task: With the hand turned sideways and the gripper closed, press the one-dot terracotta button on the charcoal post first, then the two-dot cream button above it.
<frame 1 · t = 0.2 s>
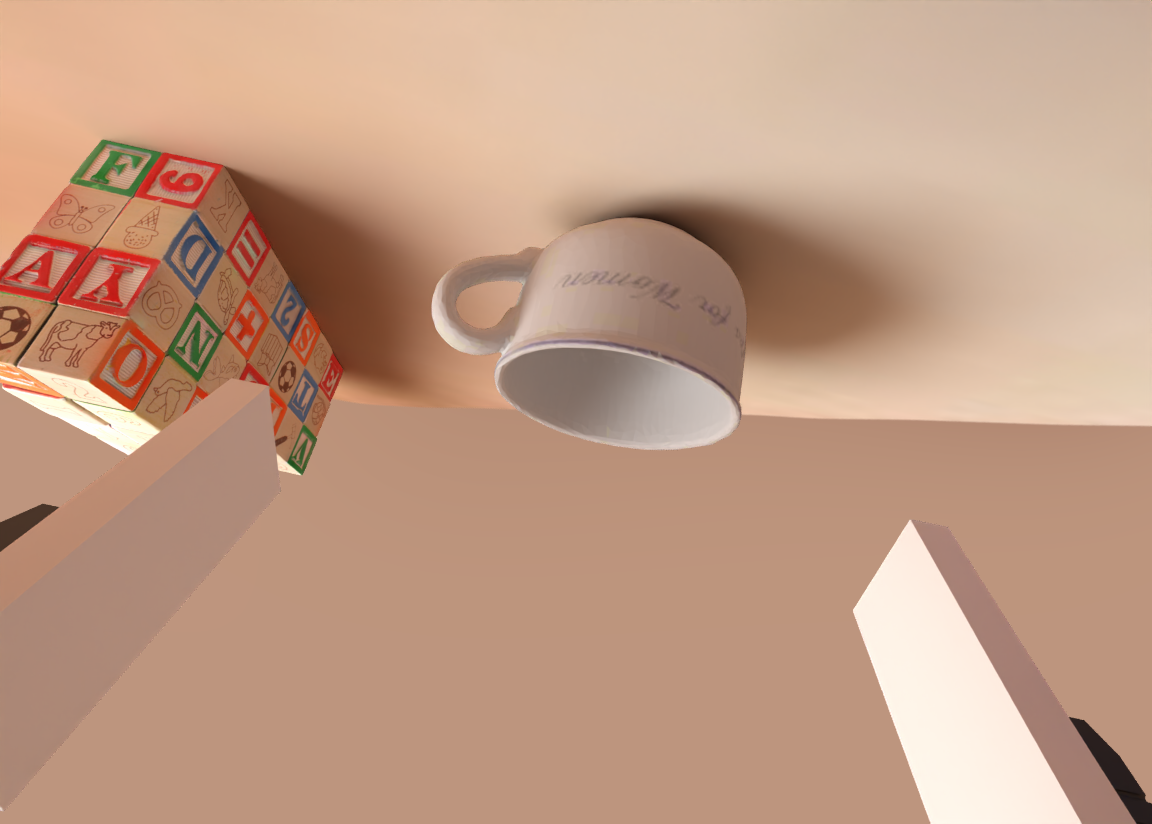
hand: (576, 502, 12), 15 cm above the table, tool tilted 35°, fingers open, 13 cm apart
teacup: (615, 246, 28), on the table
stack of blocks: (255, 279, 38), on the table
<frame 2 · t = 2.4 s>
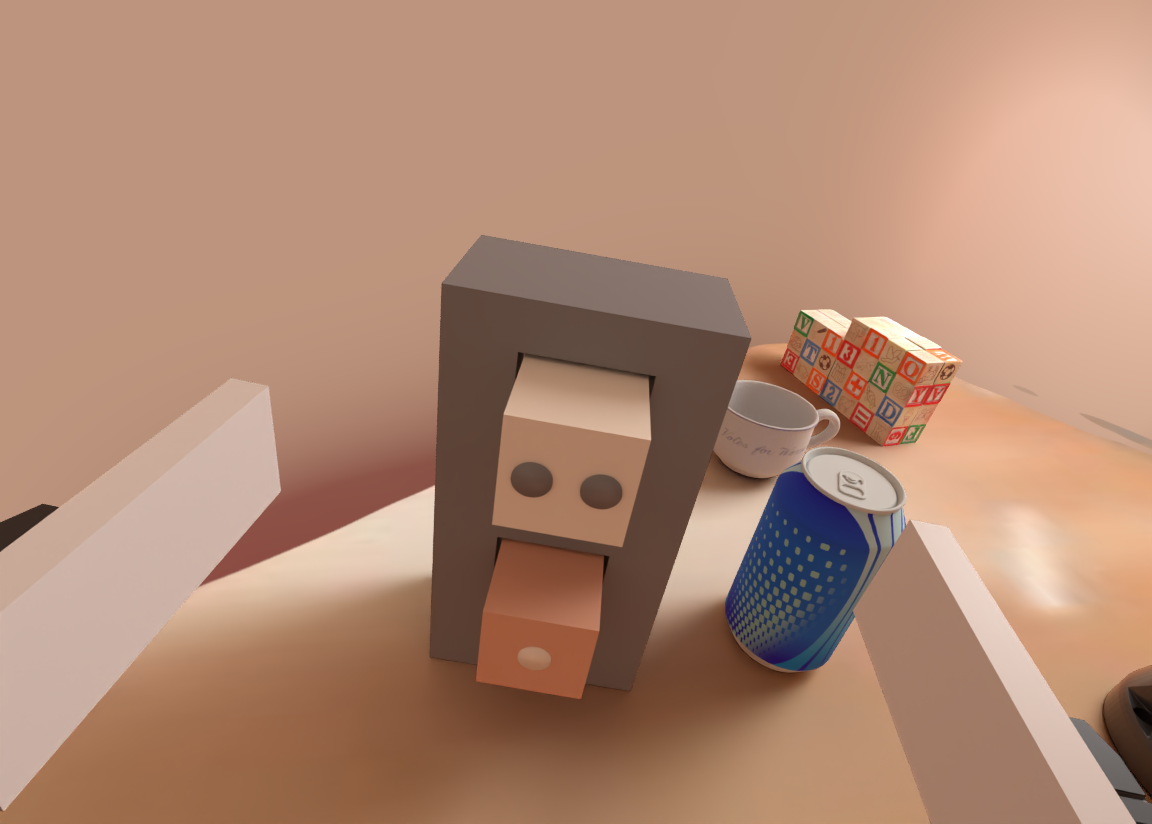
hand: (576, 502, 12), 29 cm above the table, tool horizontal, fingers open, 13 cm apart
teacup: (759, 464, 67), on the table
lower button: (544, 599, 35), point 9 cm above the table, slide at 0.0 cm
beer can: (771, 634, 47), on the table
stack of blocks: (841, 402, 83), on the table
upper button: (574, 434, 28), point 21 cm above the table, slide at 0.0 cm
button post: (538, 625, 44), on the table
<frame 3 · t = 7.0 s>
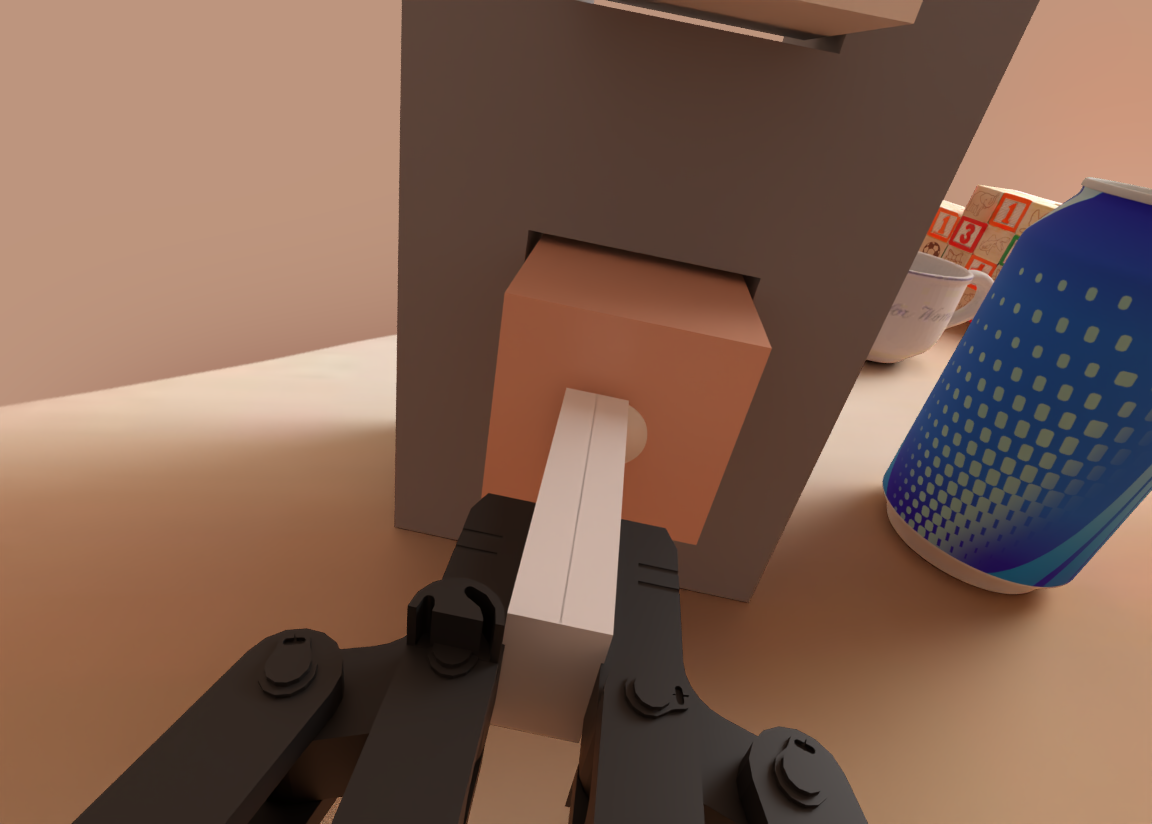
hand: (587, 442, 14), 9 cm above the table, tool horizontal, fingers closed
teacup: (872, 352, 49), on the table
lower button: (619, 362, 18), point 9 cm above the table, slide at 0.8 cm, touching gripper
beer can: (957, 541, 29), on the table
stack of blocks: (949, 306, 66), on the table
button post: (582, 499, 26), on the table
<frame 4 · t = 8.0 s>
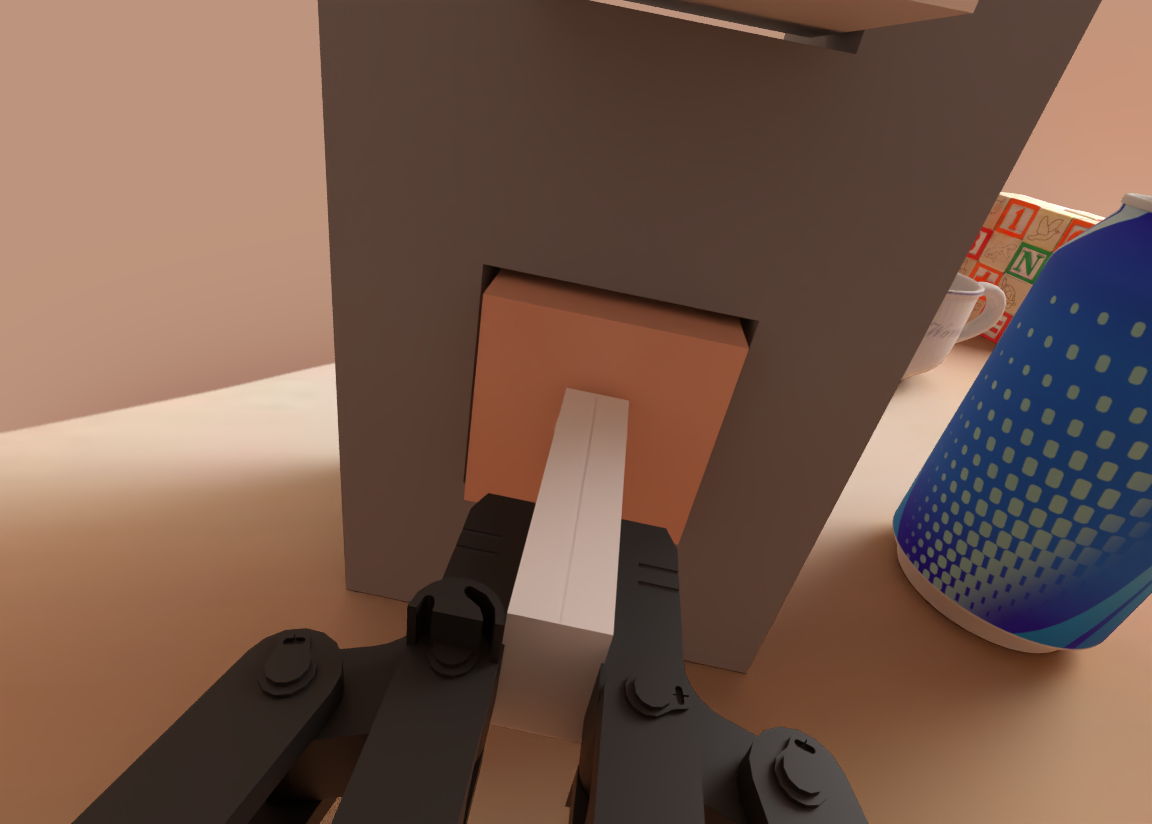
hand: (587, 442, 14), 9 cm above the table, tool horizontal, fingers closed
teacup: (876, 368, 46), on the table
lower button: (602, 363, 18), point 9 cm above the table, slide at 3.9 cm, touching gripper
beer can: (975, 588, 26), on the table
stack of blocks: (952, 314, 63), on the table
button post: (561, 548, 24), on the table
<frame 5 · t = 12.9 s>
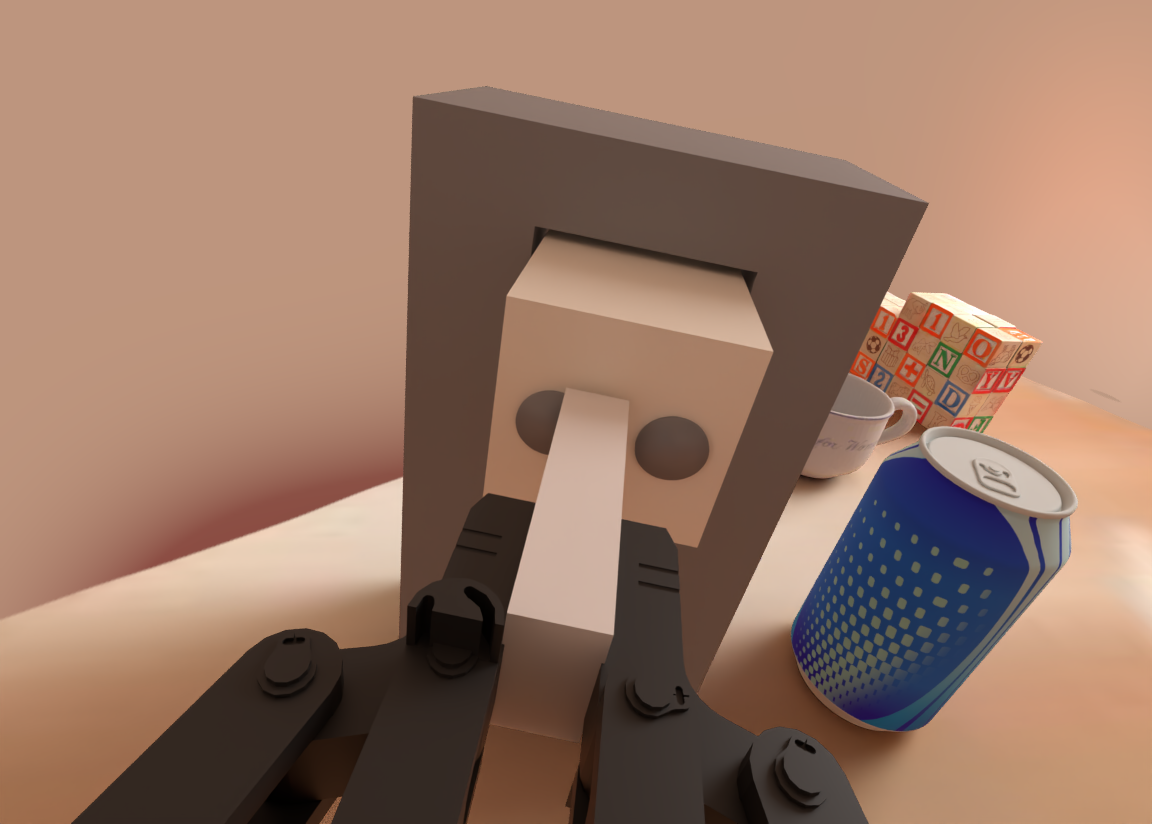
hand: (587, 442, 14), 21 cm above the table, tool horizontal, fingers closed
teacup: (814, 462, 56), on the table
beer can: (851, 677, 36), on the table
stack of blocks: (890, 391, 73), on the table
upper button: (620, 365, 18), point 21 cm above the table, slide at 0.0 cm, touching gripper
button post: (545, 654, 33), on the table
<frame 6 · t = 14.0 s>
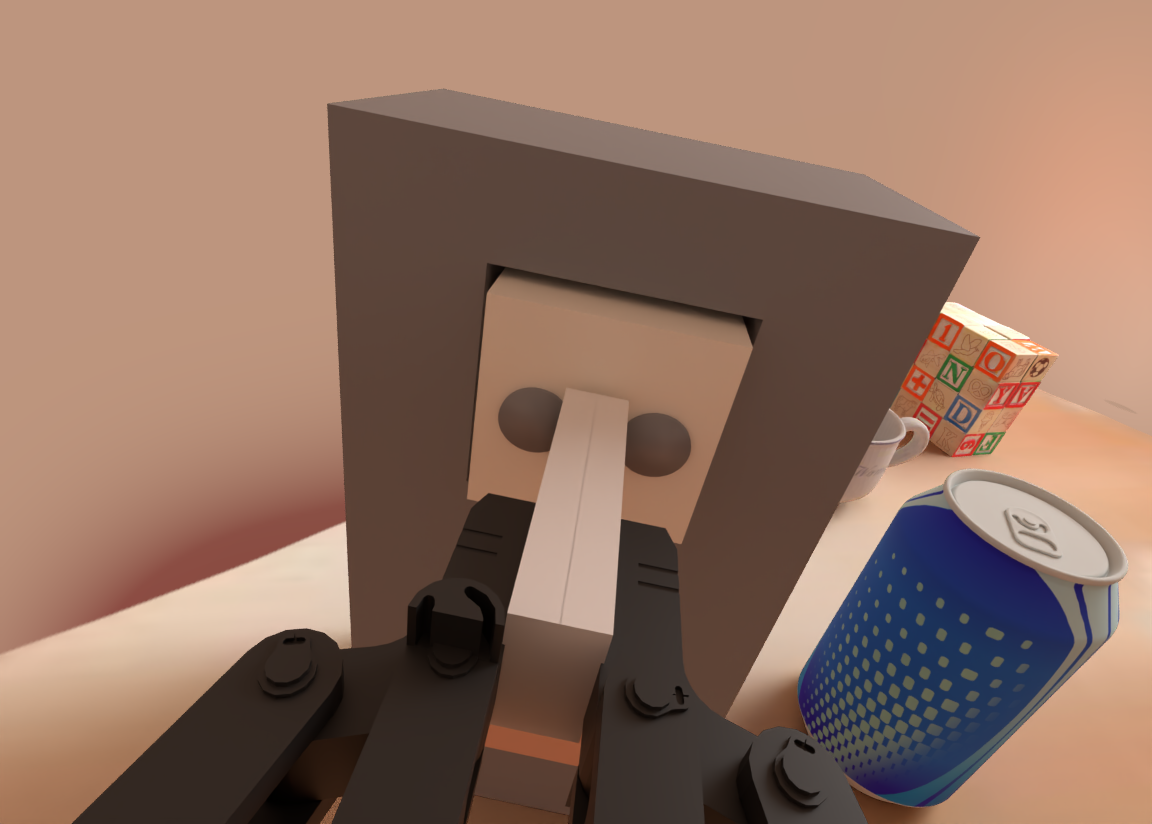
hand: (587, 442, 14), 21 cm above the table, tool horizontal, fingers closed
teacup: (820, 486, 53), on the table
lower button: (548, 619, 24), point 9 cm above the table, slide at 4.0 cm
beer can: (863, 737, 32), on the table
stack of blocks: (897, 404, 70), on the table
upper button: (605, 362, 18), point 21 cm above the table, slide at 3.9 cm, touching gripper
button post: (526, 717, 30), on the table
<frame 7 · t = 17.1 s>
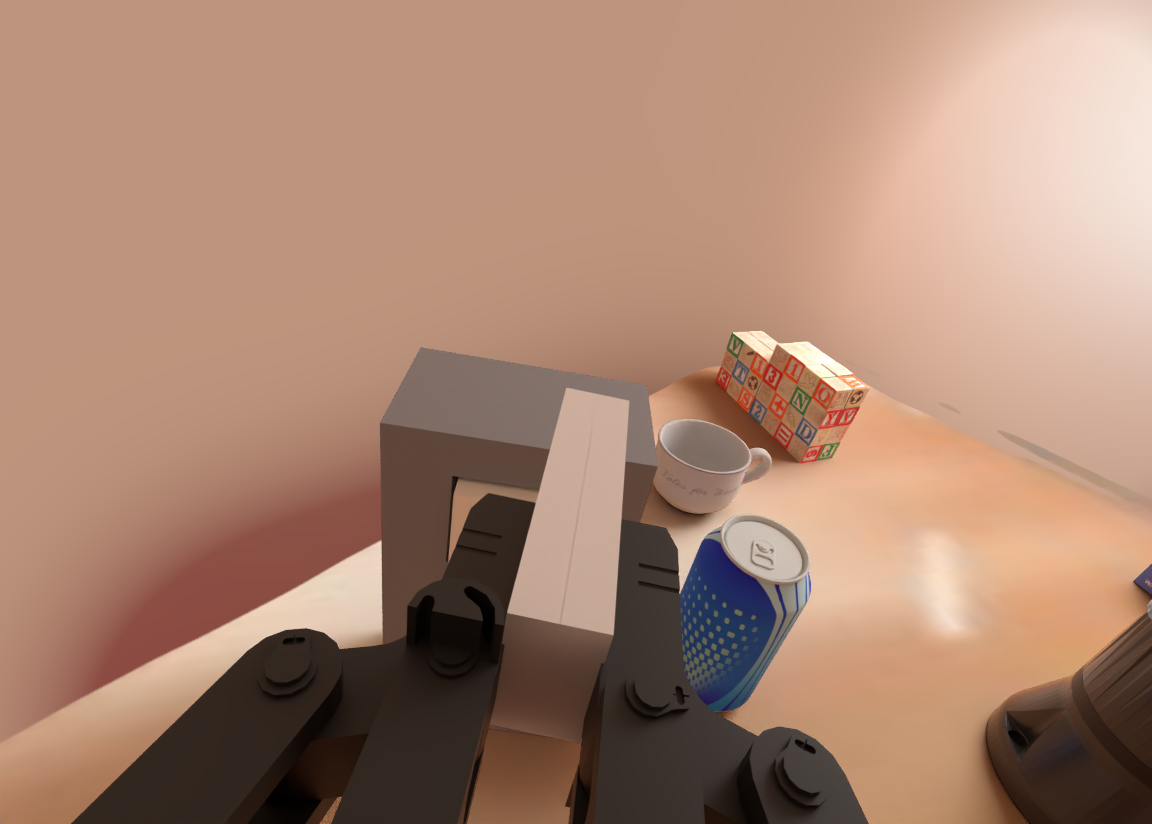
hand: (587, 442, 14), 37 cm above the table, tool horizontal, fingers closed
teacup: (698, 498, 72), on the table
beer can: (700, 674, 52), on the table
stack of blocks: (768, 418, 90), on the table
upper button: (514, 495, 35), point 21 cm above the table, slide at 4.0 cm
button post: (486, 678, 48), on the table
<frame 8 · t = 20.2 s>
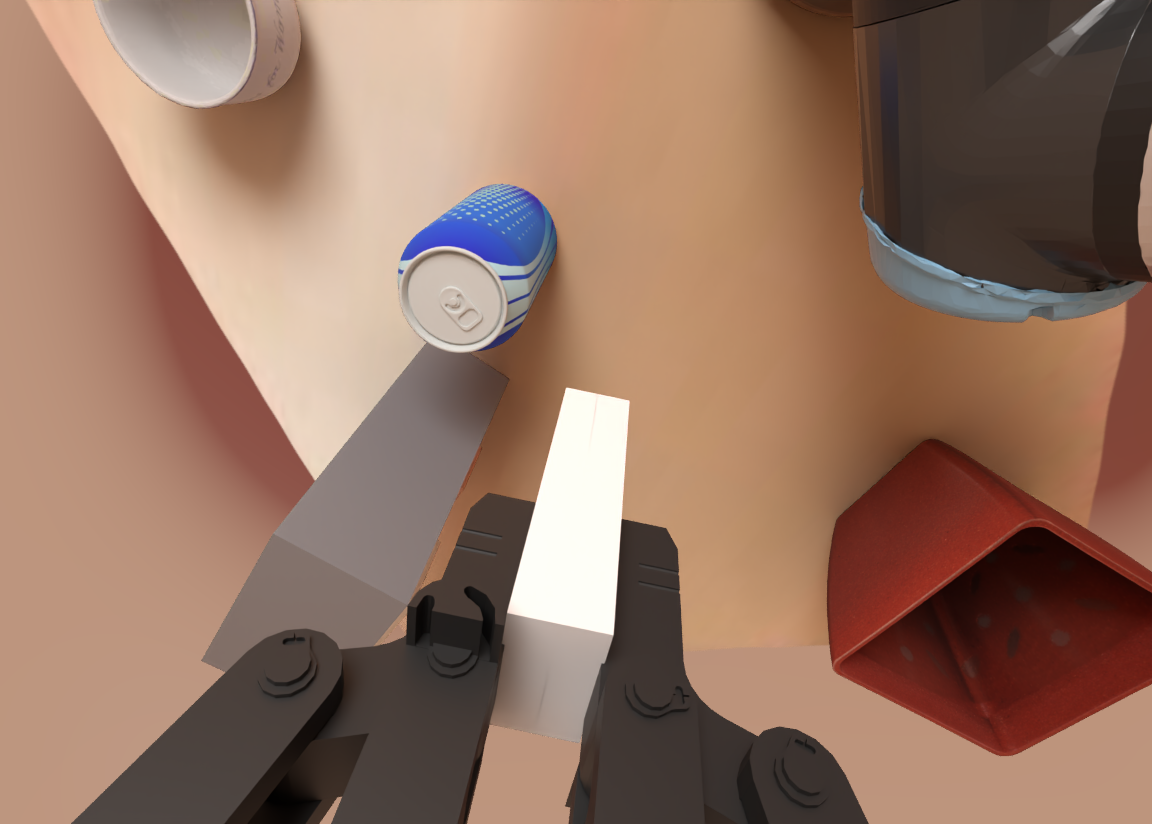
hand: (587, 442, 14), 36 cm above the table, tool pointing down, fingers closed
lower button: (417, 466, 50), point 9 cm above the table, slide at 4.0 cm
beer can: (509, 234, 49), on the table
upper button: (357, 569, 40), point 21 cm above the table, slide at 4.0 cm
plant pot: (927, 506, 58), on the table
button post: (438, 406, 58), on the table
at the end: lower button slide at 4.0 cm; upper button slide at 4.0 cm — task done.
